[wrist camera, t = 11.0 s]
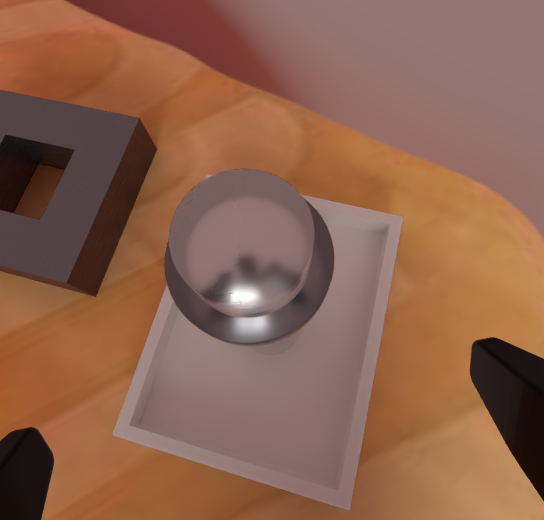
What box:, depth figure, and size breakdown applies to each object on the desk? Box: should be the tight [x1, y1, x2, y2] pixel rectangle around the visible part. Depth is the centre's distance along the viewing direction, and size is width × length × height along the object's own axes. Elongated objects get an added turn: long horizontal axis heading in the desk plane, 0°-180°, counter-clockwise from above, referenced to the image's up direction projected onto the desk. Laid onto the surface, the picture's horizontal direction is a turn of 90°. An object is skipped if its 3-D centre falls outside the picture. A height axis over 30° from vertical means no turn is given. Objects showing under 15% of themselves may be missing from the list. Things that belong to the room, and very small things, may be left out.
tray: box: [112, 174, 403, 511], centre depth 20 cm, size 14×11×2 cm
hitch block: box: [0, 90, 157, 297], centre depth 22 cm, size 10×10×3 cm
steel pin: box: [165, 169, 335, 355], centre depth 14 cm, size 4×4×12 cm
